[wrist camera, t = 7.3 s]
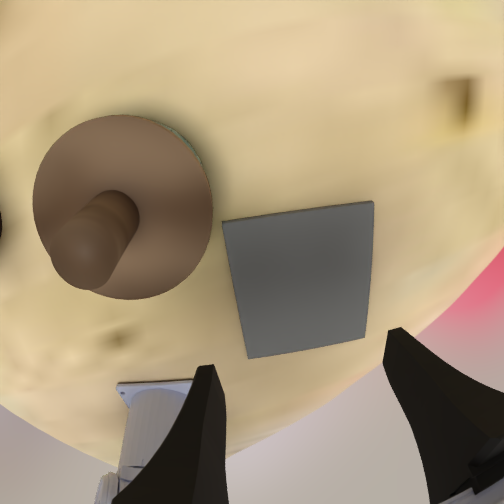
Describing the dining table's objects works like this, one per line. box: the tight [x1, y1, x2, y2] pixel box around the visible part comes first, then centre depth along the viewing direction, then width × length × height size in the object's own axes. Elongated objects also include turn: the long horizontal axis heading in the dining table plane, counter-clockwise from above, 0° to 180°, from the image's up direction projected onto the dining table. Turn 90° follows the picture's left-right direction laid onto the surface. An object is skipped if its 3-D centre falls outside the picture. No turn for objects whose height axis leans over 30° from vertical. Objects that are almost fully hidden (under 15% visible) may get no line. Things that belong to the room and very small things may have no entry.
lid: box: [33, 115, 213, 300], centre depth 13 cm, size 10×10×5 cm
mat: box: [222, 201, 374, 359], centre depth 23 cm, size 12×10×1 cm
